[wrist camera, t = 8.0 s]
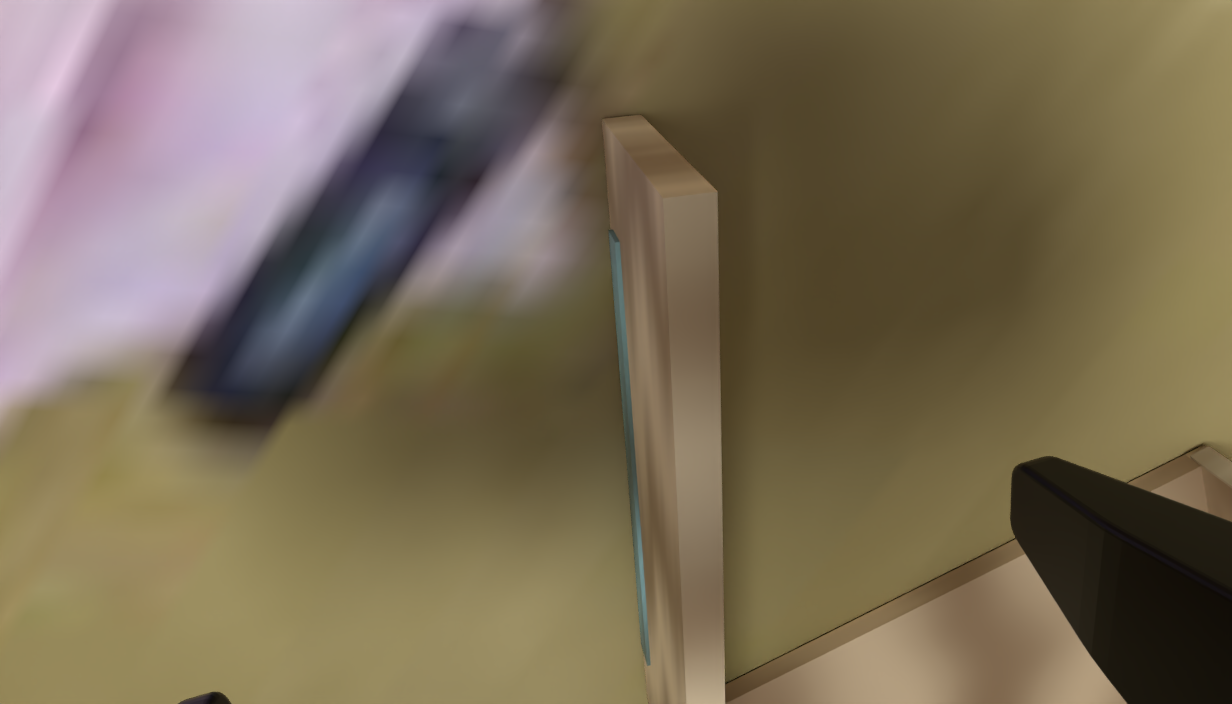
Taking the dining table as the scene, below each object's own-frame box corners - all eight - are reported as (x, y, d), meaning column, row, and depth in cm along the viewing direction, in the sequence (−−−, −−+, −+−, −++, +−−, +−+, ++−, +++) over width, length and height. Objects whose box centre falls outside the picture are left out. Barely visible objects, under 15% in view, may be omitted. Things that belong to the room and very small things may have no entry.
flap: (673, 691, 25) (727, 881, 20) (643, 696, 24) (690, 889, 20) (640, 114, 17) (717, 191, 12) (596, 119, 17) (656, 198, 12)
